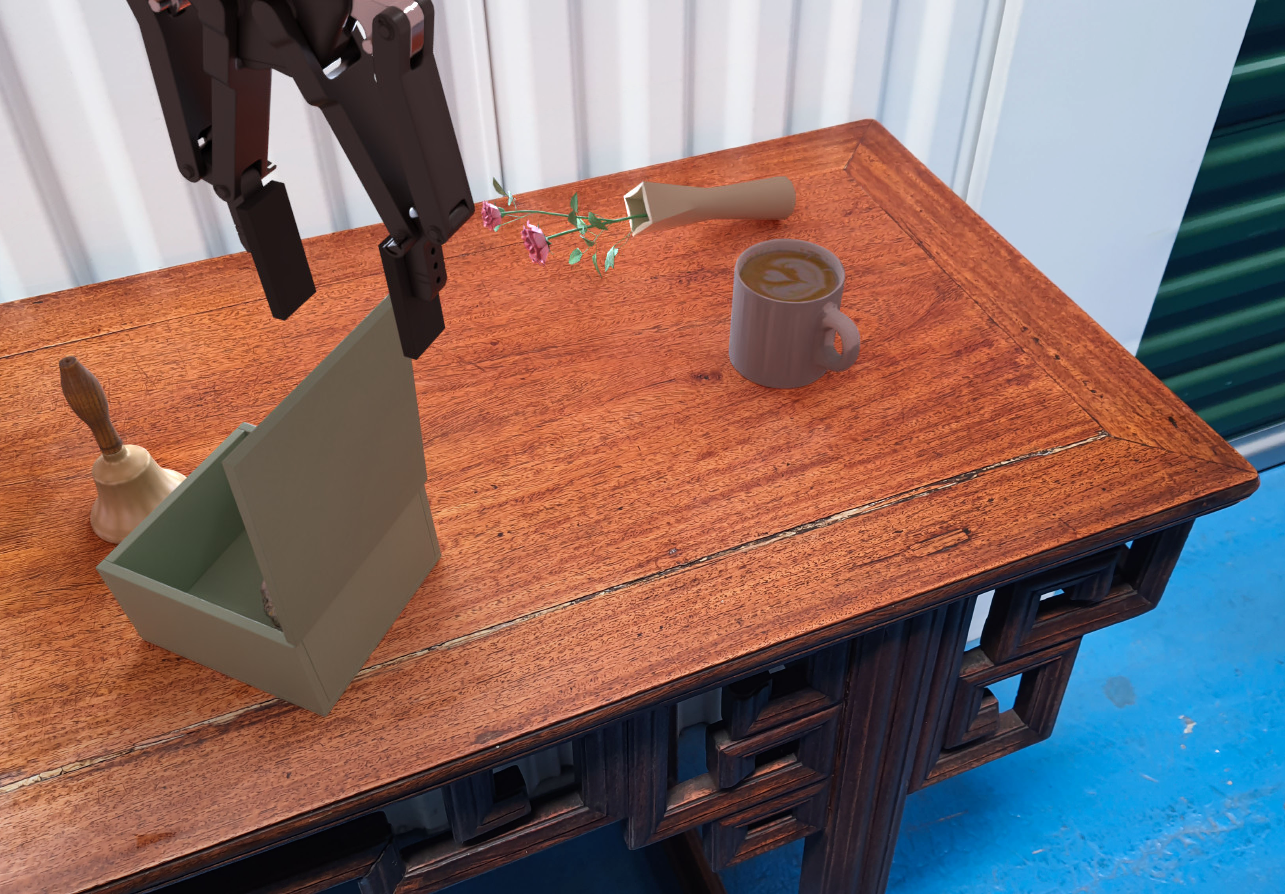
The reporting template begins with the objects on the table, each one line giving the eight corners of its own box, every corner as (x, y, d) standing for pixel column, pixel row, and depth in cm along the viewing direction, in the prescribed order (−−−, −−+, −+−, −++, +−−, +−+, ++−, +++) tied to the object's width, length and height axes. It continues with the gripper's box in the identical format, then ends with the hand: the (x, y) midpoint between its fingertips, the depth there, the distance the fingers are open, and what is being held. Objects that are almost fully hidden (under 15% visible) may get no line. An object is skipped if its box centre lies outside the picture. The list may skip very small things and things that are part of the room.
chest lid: (220, 461, 50) (233, 467, 50) (392, 289, 60) (403, 293, 60) (286, 642, 63) (296, 647, 63) (418, 476, 73) (428, 479, 73)
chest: (141, 639, 74) (94, 567, 68) (273, 495, 84) (243, 421, 78) (325, 718, 70) (293, 648, 63) (442, 556, 80) (424, 482, 73)
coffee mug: (708, 342, 98) (713, 258, 91) (790, 311, 101) (801, 227, 94) (789, 424, 90) (801, 339, 83) (875, 387, 93) (894, 301, 86)
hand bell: (144, 459, 87) (68, 315, 76) (216, 489, 85) (148, 345, 73) (69, 524, 82) (-26, 380, 71) (143, 559, 79) (58, 415, 68)
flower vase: (774, 289, 116) (497, 326, 99) (728, 212, 121) (457, 236, 104) (821, 217, 107) (524, 245, 90) (769, 137, 112) (479, 150, 95)
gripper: (526, -196, 34) (567, 328, 50) (80, -244, 40) (247, 241, 56) (407, -133, 29) (495, 423, 46) (-81, -199, 35) (153, 317, 51)
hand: (358, 322), depth 51 cm, fingers open, 7 cm apart
